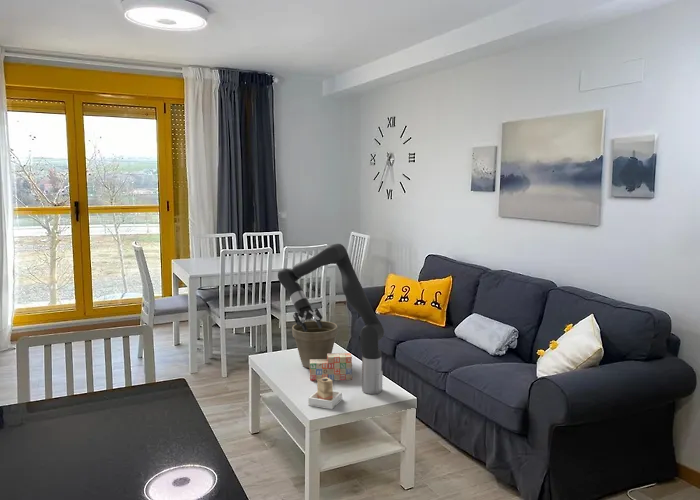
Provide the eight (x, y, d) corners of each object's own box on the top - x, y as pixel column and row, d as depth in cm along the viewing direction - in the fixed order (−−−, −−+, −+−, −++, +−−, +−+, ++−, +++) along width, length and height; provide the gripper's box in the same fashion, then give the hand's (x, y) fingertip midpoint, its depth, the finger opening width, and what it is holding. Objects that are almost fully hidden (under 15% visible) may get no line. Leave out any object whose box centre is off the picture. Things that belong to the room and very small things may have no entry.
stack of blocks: (309, 381, 280) (309, 357, 278) (309, 376, 286) (309, 353, 285) (351, 379, 282) (352, 356, 280) (350, 375, 288) (350, 352, 286)
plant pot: (286, 360, 311) (286, 322, 308) (328, 354, 320) (327, 318, 317) (300, 375, 288) (300, 334, 285) (344, 368, 297) (344, 329, 294)
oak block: (326, 397, 257) (326, 376, 256) (332, 401, 253) (332, 380, 252) (317, 400, 254) (317, 379, 253) (323, 403, 250) (323, 382, 249)
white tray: (341, 399, 257) (341, 392, 257) (331, 409, 247) (331, 401, 246) (319, 395, 261) (319, 388, 261) (308, 405, 251) (308, 397, 250)
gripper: (291, 299, 270) (304, 327, 263) (315, 295, 279) (328, 322, 272) (285, 308, 275) (298, 335, 268) (309, 304, 284) (322, 330, 277)
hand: (313, 329), depth 270 cm, fingers open, 8 cm apart
